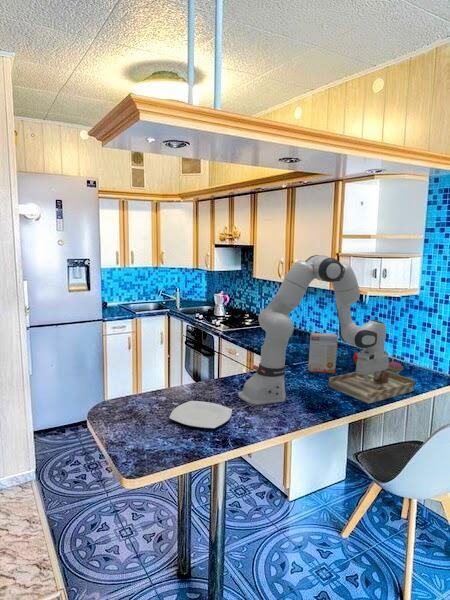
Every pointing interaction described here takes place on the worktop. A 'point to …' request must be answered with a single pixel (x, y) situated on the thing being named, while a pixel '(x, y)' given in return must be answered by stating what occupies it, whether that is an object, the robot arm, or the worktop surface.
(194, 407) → the plate
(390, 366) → the cupcake
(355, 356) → the apple
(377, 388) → the trap deck
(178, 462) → the worktop surface
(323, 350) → the cracker box
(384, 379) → the walnut block
